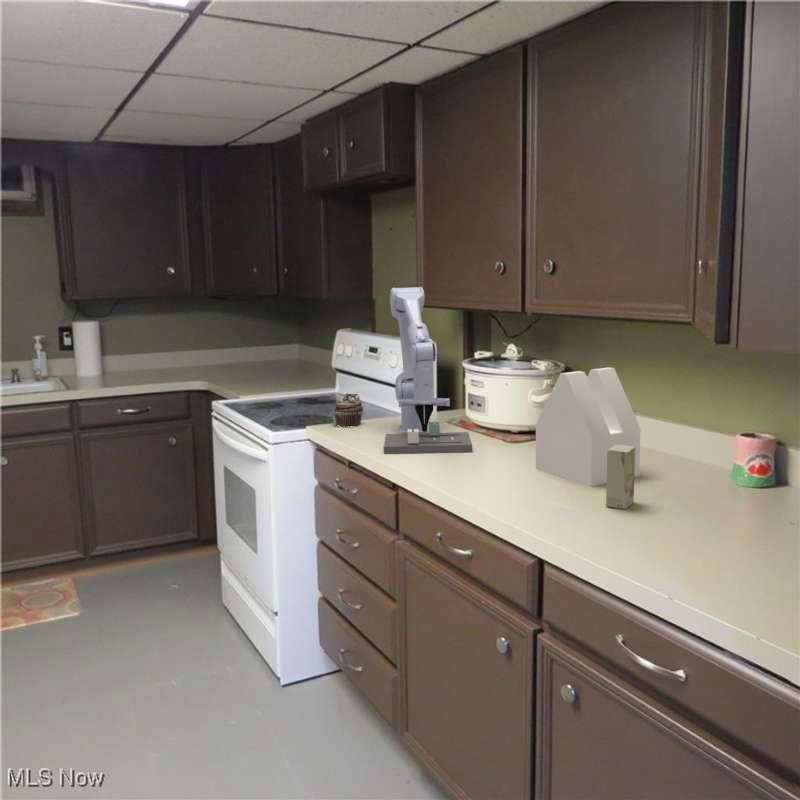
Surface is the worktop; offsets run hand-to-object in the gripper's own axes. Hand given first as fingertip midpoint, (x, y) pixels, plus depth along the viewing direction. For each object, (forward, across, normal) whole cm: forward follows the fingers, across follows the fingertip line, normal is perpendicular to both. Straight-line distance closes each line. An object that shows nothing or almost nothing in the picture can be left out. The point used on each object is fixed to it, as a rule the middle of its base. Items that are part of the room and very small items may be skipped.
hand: (424, 430), depth 222 cm
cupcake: (+4, -24, +28) cm, 37 cm away
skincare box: (+4, +40, -60) cm, 72 cm away
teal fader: (+1, +3, 0) cm, 3 cm away
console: (+3, +1, -4) cm, 6 cm away
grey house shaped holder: (+4, +39, -34) cm, 52 cm away
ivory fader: (+1, -3, -9) cm, 10 cm away
